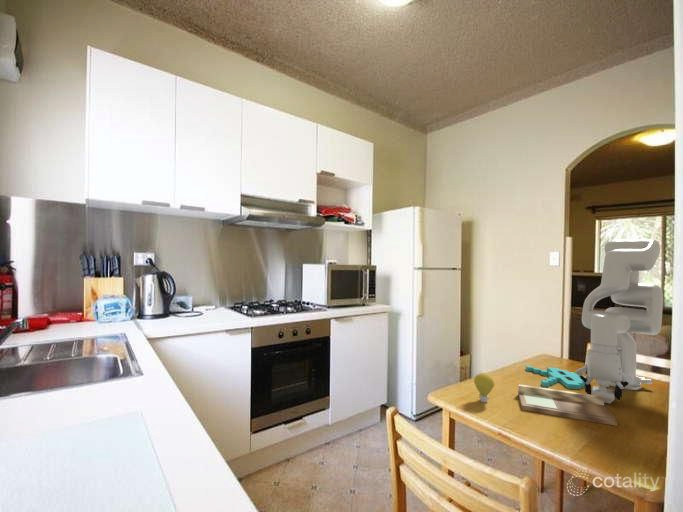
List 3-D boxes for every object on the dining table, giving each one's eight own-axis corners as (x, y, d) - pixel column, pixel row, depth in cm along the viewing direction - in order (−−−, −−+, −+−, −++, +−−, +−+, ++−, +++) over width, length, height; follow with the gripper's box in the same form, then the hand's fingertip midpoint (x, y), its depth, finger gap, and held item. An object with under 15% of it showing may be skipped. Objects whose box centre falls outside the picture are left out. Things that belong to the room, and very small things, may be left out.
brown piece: (602, 407, 114) (602, 396, 114) (617, 425, 102) (617, 412, 102) (518, 394, 124) (518, 384, 124) (522, 409, 112) (522, 398, 112)
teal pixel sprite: (543, 387, 132) (599, 392, 128) (543, 382, 132) (599, 386, 128) (525, 370, 152) (574, 374, 148) (525, 365, 152) (574, 369, 148)
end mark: (551, 397, 118) (551, 397, 118) (557, 409, 110) (557, 408, 110) (523, 393, 122) (523, 392, 122) (526, 404, 113) (526, 403, 113)
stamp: (592, 394, 125) (592, 372, 125) (614, 399, 121) (614, 376, 121) (590, 402, 118) (591, 379, 118) (614, 408, 114) (614, 383, 114)
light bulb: (486, 406, 114) (486, 378, 114) (469, 399, 120) (470, 372, 120) (498, 402, 118) (498, 374, 118) (481, 395, 123) (481, 368, 123)
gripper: (629, 348, 119) (628, 396, 119) (572, 343, 126) (571, 388, 126) (638, 354, 113) (637, 405, 113) (577, 348, 119) (576, 396, 119)
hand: (602, 396), depth 119 cm, fingers closed on stamp, 8 cm apart
